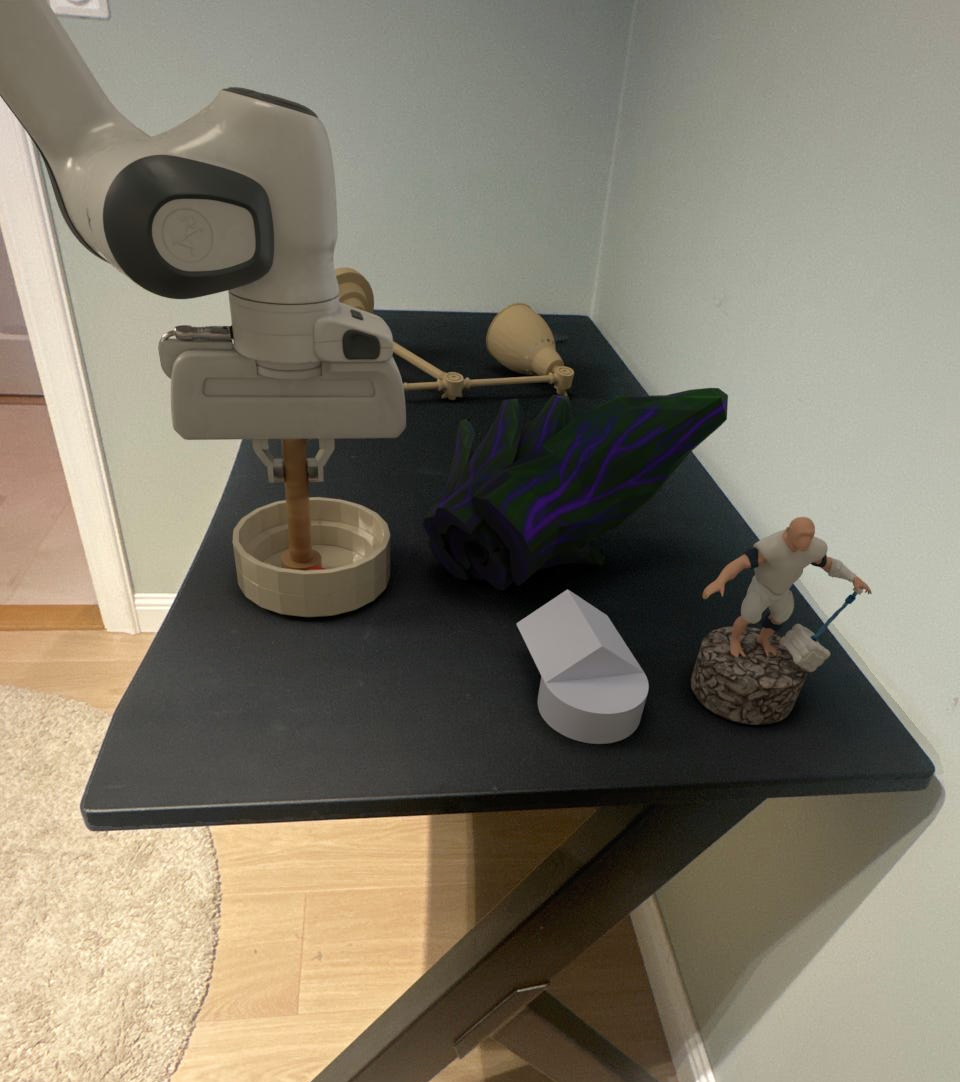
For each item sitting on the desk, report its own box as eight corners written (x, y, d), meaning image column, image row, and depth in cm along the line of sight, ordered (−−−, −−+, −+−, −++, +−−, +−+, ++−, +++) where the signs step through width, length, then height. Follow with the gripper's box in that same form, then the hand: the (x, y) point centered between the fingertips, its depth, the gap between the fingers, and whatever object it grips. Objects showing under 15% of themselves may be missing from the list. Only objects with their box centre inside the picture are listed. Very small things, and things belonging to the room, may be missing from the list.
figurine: (682, 731, 66) (741, 547, 55) (648, 667, 73) (695, 492, 62) (837, 722, 68) (923, 544, 58) (791, 660, 75) (859, 491, 64)
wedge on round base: (512, 652, 73) (556, 750, 63) (520, 592, 69) (568, 687, 59) (601, 643, 75) (657, 736, 65) (613, 585, 71) (676, 675, 61)
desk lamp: (289, 280, 124) (471, 392, 109) (441, 233, 143) (614, 323, 127) (295, 366, 135) (460, 478, 120) (435, 311, 154) (593, 403, 139)
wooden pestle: (282, 582, 77) (270, 432, 68) (281, 561, 80) (269, 415, 71) (323, 580, 78) (316, 432, 69) (320, 559, 81) (314, 415, 72)
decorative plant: (433, 627, 91) (584, 492, 104) (604, 662, 71) (762, 490, 85) (348, 471, 81) (528, 344, 94) (520, 461, 61) (714, 303, 75)
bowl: (237, 627, 73) (230, 577, 69) (240, 545, 84) (234, 499, 81) (398, 616, 76) (399, 568, 73) (379, 539, 88) (379, 495, 85)
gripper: (150, 336, 60) (177, 498, 68) (411, 341, 65) (407, 492, 73) (158, 314, 65) (182, 467, 73) (401, 320, 70) (398, 463, 78)
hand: (296, 479), depth 73 cm, fingers closed on wooden pestle, 2 cm apart
